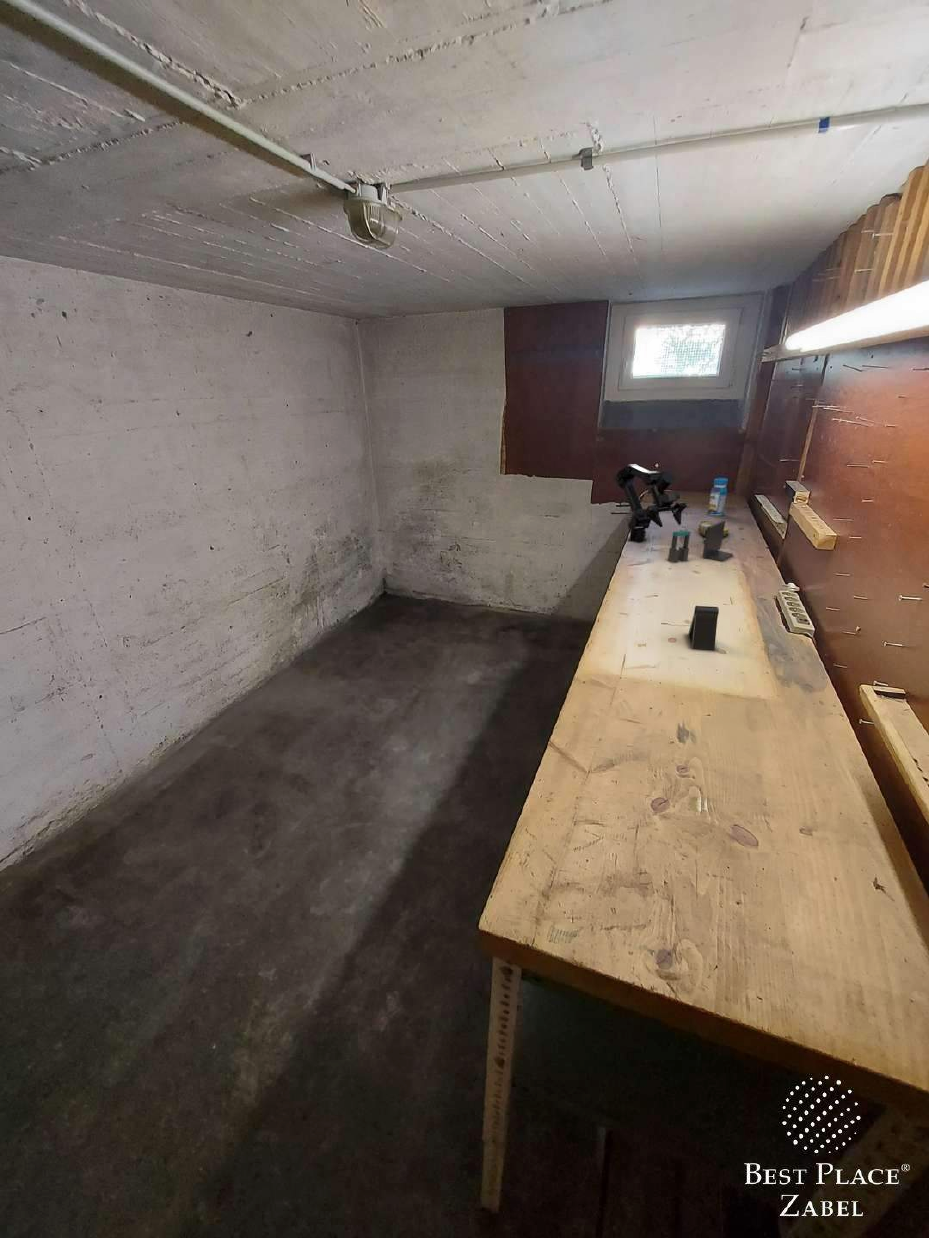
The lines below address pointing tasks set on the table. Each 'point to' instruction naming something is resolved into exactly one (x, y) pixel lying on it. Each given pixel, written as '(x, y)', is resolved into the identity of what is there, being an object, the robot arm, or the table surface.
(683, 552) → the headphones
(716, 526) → the dark panel
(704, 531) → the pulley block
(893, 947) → the table surface
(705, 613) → the phone stand
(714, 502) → the beverage bottle
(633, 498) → the robot arm
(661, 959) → the table surface
